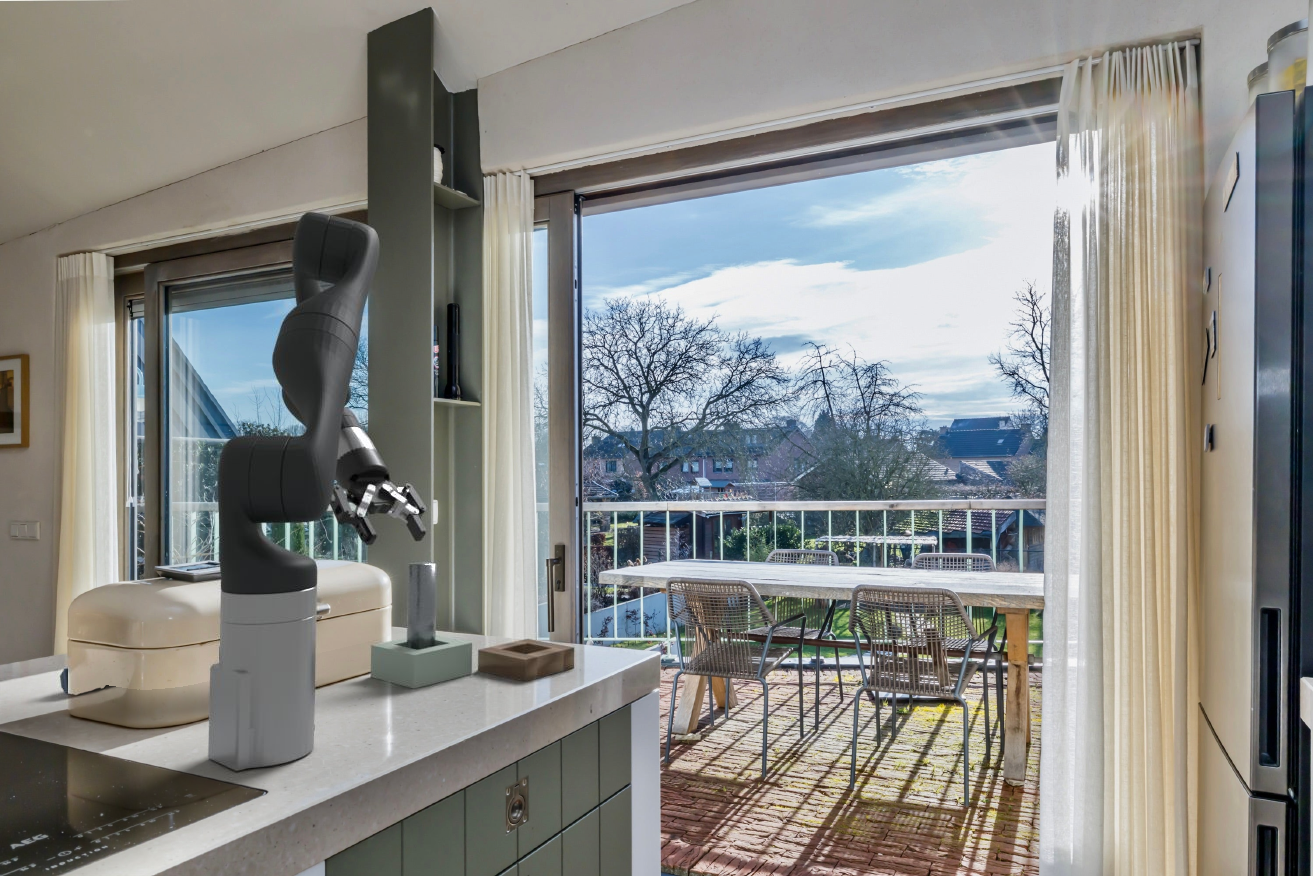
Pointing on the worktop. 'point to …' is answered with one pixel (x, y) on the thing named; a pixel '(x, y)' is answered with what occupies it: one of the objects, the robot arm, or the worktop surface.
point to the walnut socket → (526, 659)
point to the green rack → (421, 662)
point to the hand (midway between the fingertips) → (397, 539)
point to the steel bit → (421, 605)
